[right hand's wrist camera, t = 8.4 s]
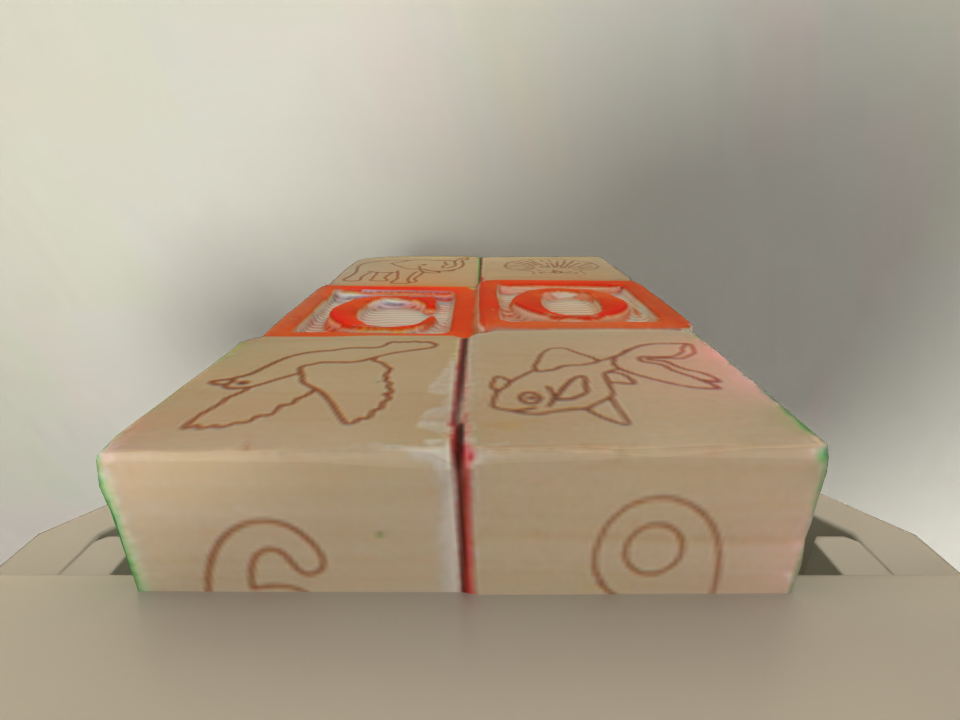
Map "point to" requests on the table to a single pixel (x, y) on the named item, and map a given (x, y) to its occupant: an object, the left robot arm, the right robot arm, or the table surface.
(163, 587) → the stack of blocks
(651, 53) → the table surface
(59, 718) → the right robot arm
